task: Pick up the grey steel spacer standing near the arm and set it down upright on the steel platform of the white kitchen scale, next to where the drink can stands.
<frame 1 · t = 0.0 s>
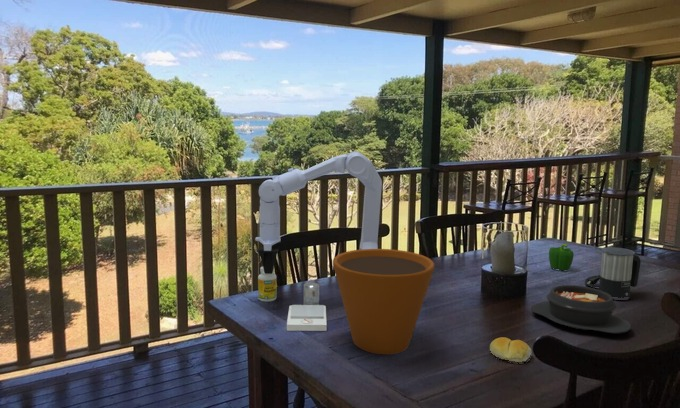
hand: (269, 269, 150), 10 cm above the table, tool pointing down, fingers open, 7 cm apart
casserole: (578, 323, 142), on the table
flower pot: (380, 341, 128), on the table
supplement bottle: (267, 299, 156), on the table
bell pepper: (559, 270, 194), on the table
milk frother: (605, 293, 169), on the table
spacer: (311, 305, 151), on the table
bread roll: (510, 357, 121), on the table
scale: (307, 320, 140), on the table
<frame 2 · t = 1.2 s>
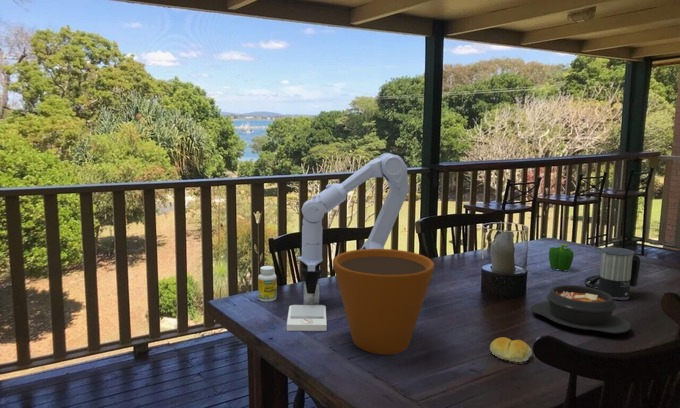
hand: (311, 288, 151), 5 cm above the table, tool pointing down, fingers open, 7 cm apart
nothing on the table moved.
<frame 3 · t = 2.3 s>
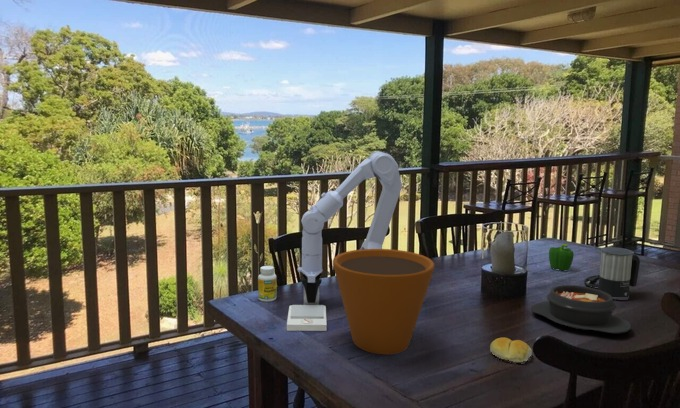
hand: (311, 299, 151), 2 cm above the table, tool pointing down, fingers closed on spacer, 4 cm apart
spacer: (311, 304, 151), on the table, touching gripper
everything else where it was.
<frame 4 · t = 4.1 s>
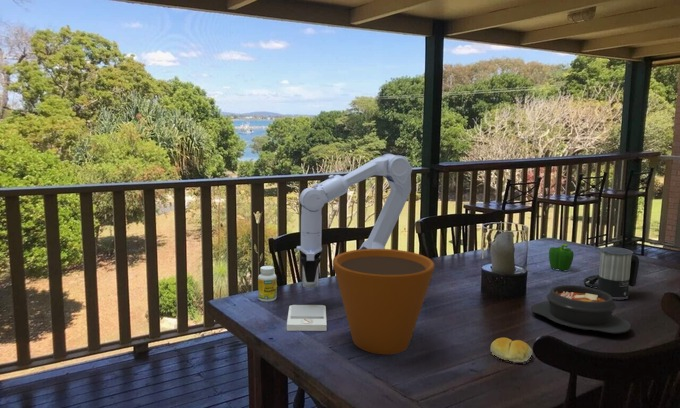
hand: (310, 279, 148), 8 cm above the table, tool pointing down, fingers closed on spacer, 4 cm apart
spacer: (310, 285, 148), point 7 cm above the table, touching gripper
everything else where it was.
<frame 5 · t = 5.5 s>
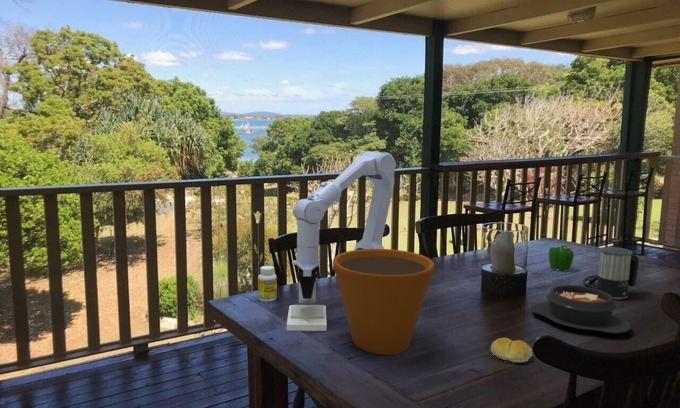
hand: (307, 295, 140), 6 cm above the table, tool pointing down, fingers closed on spacer, 4 cm apart
spacer: (307, 301, 140), point 5 cm above the table, touching gripper
everything else where it was.
when the fingers open (5 cm above the table, at t = 6.3 s): spacer stays where it is, resting on scale.
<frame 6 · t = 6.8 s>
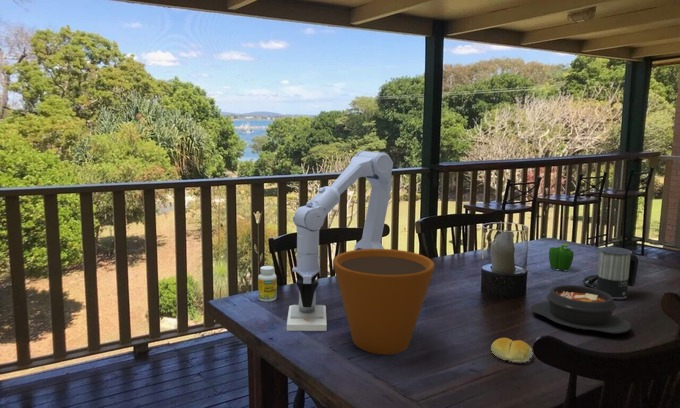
hand: (307, 301, 140), 5 cm above the table, tool pointing down, fingers open, 7 cm apart
spacer: (307, 310, 141), point 2 cm above the table, touching scale
everything else where it was.
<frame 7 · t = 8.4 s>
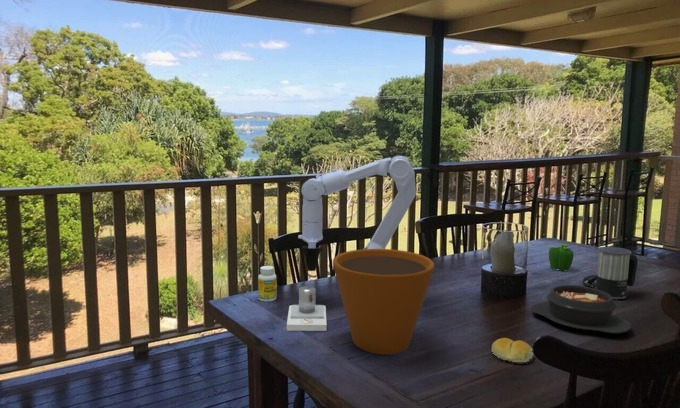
hand: (311, 266, 153), 10 cm above the table, tool pointing down, fingers open, 7 cm apart
nothing on the table moved.
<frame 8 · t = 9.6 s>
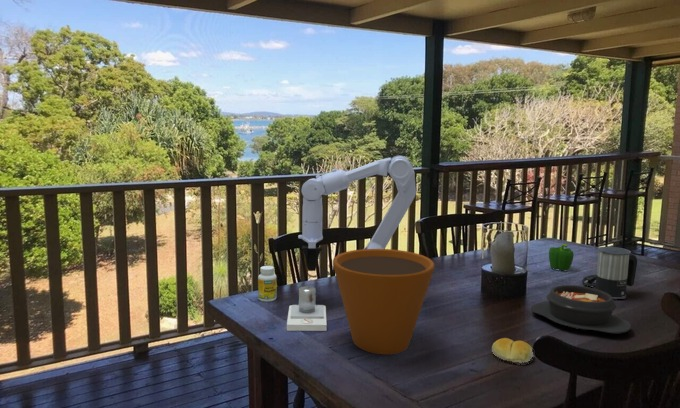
hand: (311, 266, 153), 10 cm above the table, tool pointing down, fingers open, 7 cm apart
at the end: spacer inside the target area on the scale (0.1 cm from its centre), point 2.2 cm above the scale's base; spacer tilted 0°; the gripper is holding nothing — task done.
